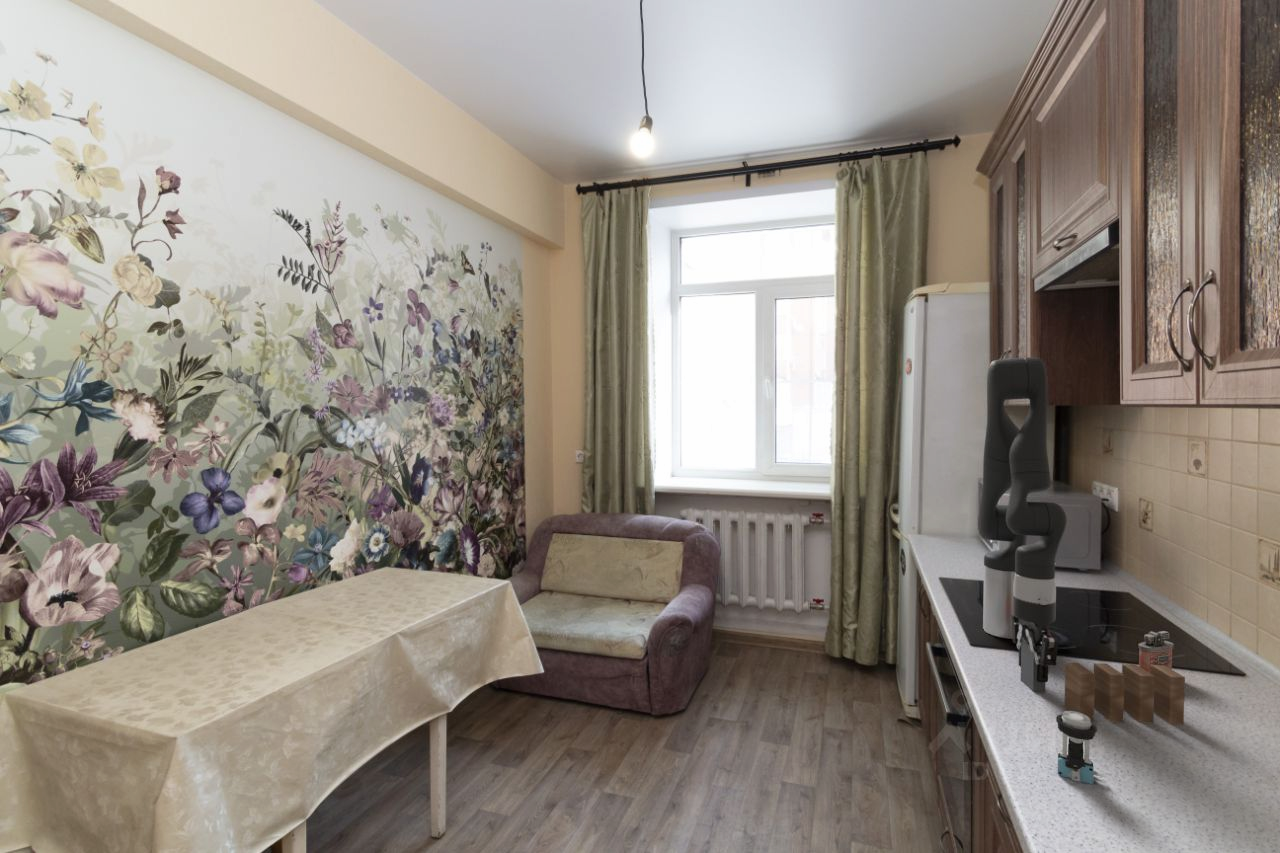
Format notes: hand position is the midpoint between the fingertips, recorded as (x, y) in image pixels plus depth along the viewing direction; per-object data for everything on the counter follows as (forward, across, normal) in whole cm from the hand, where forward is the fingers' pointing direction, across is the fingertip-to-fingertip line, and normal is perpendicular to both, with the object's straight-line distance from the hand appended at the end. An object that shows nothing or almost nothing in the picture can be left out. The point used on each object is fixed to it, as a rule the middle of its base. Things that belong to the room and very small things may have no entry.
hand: (1032, 673), depth 128 cm
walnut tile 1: (+3, +11, +18) cm, 22 cm away
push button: (+3, +32, -9) cm, 33 cm away
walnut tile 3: (+3, +11, +8) cm, 14 cm away
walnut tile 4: (+3, +11, +3) cm, 12 cm away
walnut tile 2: (+3, +11, +13) cm, 17 cm away
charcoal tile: (+3, 0, 0) cm, 3 cm away
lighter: (+3, -6, +28) cm, 29 cm away
